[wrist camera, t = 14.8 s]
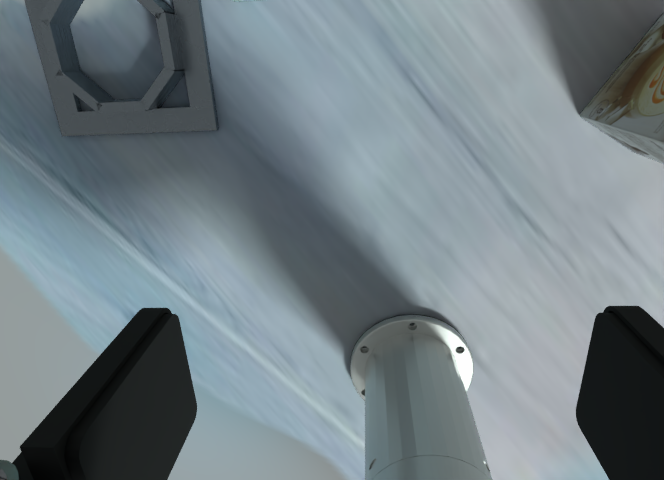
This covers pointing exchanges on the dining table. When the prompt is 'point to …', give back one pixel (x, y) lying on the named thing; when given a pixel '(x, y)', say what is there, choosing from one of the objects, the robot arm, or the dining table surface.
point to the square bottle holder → (131, 114)
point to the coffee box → (635, 99)
